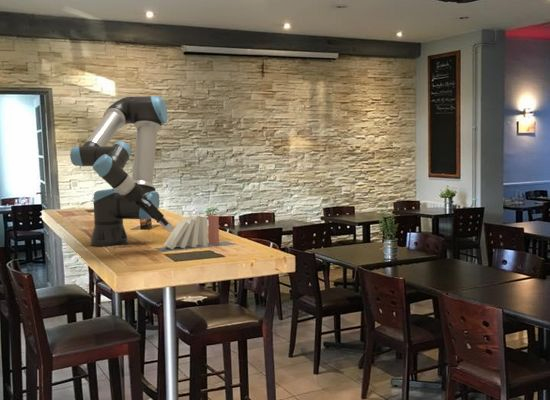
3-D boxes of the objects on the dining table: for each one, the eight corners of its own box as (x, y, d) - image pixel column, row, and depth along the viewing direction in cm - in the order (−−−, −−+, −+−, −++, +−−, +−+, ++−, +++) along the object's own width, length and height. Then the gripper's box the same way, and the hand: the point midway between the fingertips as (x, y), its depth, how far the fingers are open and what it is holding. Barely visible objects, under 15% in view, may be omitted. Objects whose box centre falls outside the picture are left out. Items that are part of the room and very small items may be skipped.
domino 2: (180, 247, 240) (191, 218, 241) (174, 245, 245) (185, 217, 247) (184, 248, 241) (195, 220, 242) (178, 246, 246) (189, 218, 247)
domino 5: (214, 245, 248) (214, 216, 247) (208, 243, 253) (208, 214, 252) (218, 245, 249) (218, 215, 247) (212, 243, 254) (212, 214, 253)
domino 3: (192, 247, 242) (196, 217, 242) (186, 245, 248) (189, 215, 247) (196, 247, 243) (200, 217, 243) (190, 245, 248) (194, 216, 248)
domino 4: (203, 246, 245) (203, 216, 244) (197, 244, 250) (196, 215, 249) (207, 246, 246) (207, 216, 245) (201, 244, 251) (200, 215, 250)
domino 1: (169, 247, 237) (186, 221, 240) (163, 245, 242) (180, 220, 245) (172, 249, 238) (189, 224, 241) (166, 247, 243) (183, 222, 246)
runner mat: (153, 249, 242) (153, 248, 242) (225, 242, 259) (225, 241, 259) (162, 253, 234) (162, 251, 234) (236, 245, 251) (236, 244, 250)
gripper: (116, 195, 235) (159, 234, 245) (127, 197, 224) (171, 239, 234) (130, 180, 237) (171, 220, 247) (141, 182, 226) (184, 224, 236)
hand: (171, 229), depth 240 cm, fingers closed
